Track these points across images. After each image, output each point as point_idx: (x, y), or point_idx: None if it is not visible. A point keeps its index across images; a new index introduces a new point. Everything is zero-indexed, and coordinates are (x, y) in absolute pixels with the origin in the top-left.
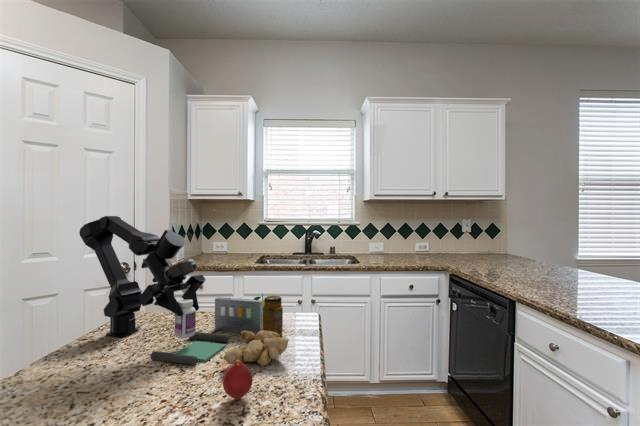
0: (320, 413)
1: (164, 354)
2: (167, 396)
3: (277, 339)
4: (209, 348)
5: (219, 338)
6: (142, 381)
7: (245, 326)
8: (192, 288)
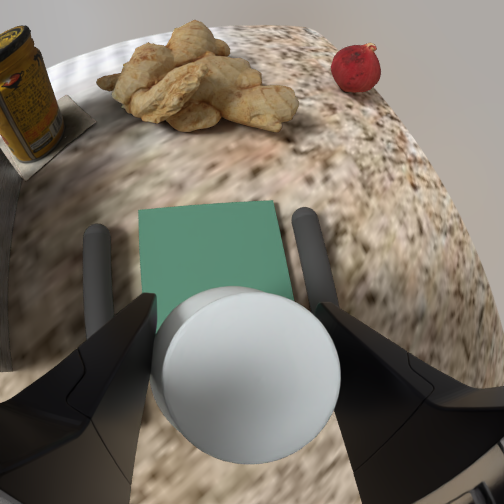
0: (305, 27)
1: None
2: (406, 188)
3: (201, 27)
4: (193, 245)
5: (109, 256)
6: (411, 282)
7: (1, 221)
8: (44, 439)
